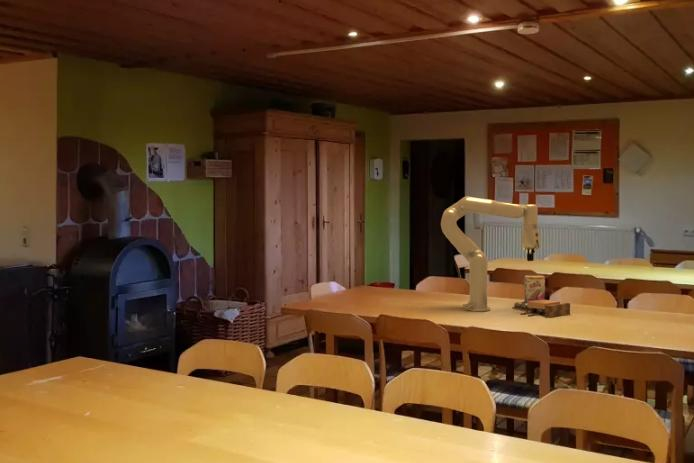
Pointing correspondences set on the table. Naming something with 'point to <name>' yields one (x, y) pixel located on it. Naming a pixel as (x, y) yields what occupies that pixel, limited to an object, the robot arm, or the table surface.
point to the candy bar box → (534, 288)
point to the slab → (541, 303)
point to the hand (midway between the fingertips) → (530, 260)
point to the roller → (539, 311)
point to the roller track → (525, 307)
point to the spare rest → (528, 313)
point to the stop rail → (557, 310)
